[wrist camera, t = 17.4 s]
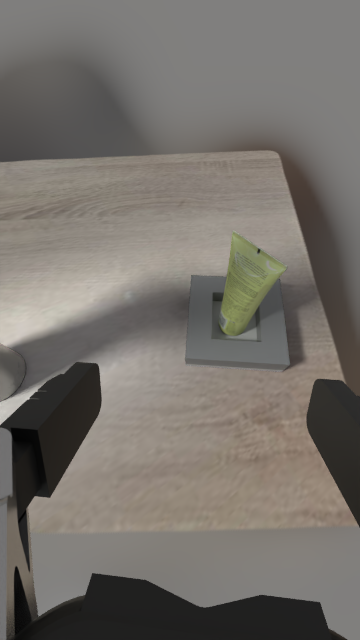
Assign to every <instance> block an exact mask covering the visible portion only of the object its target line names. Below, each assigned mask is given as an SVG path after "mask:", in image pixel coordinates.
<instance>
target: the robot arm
mask: <svg viewBox="0 0 360 640" xmlns="http://www.w3.org/2000/svg"><path fill="white" fill-rule="evenodd" d="M25 372H26V365H25V361H24V359H23V357H22V356H21V355H20V354H18V353H17V352H15V351H13V350H11V349H10V348H8V347H6V346H4V345H3V344H1V343H0V401H2V400H4V399H6V398H8V397H9V396H10V395H12V394H13V393H14V392H15V391H16V390H17V389H18V387H19V386H20V385H21V383H22V381H23V379H24V376H25ZM101 401H102V398H101V386H100V373H99V366H98V364H96V363H83V362H76V363H75V364H74V365H73V366H72V367H71V368H70V369H69V370H68V371H67V372H66V373H65V374H60V375H58V376H56V377H54V378H52V379H51V380H49V381H47V382H46V383H45V384H44V385H43V386H42V387H41V388H40V389H38V392H35V393H34V394H33V395H32V396H31V397H30V399H29V400H27V401H26V402H25V403H24V404H22V405H21V406H20V407H19V408H18V409H17V410H16V411H15V412H14V413H13V414H12V415H11V416H10V417H9V418H7V419H6V420H5V421H4V422H3V423H2V424H1V425H0V640H347V639H345V638H344V637H342V636H341V635H339V634H337V633H336V632H334V631H332V630H330V629H328V626H327V623H326V620H325V617H324V614H323V610H322V607H321V604H320V602H313V601H305V600H296V599H290V598H282V597H274V596H266V595H259V596H255V597H250V598H246V599H242V600H238V601H233V602H230V603H225V604H221V605H216V606H212V607H206V608H203V607H199V606H196V605H194V604H192V603H190V602H188V601H186V600H184V599H182V598H180V597H178V596H176V595H174V594H172V593H170V592H168V591H166V590H164V589H162V588H160V587H158V586H156V585H155V584H153V583H150V582H149V581H146V580H141V579H133V578H126V577H118V576H110V575H102V574H94V573H92V576H91V579H90V582H89V586H88V589H87V592H86V595H84V596H79V597H76V598H74V599H71V600H68V601H66V602H63V603H61V604H60V605H58V606H56V607H54V608H52V609H50V610H48V611H47V612H45V613H44V614H42V615H41V616H39V617H38V609H37V602H36V596H35V589H34V580H33V565H32V553H31V552H32V551H31V537H30V523H29V512H28V505H29V504H30V502H31V501H32V499H33V498H34V496H39V497H49V498H50V497H51V495H52V493H53V492H54V490H55V488H56V486H57V485H58V483H59V481H60V480H61V478H62V476H63V475H64V473H65V471H66V469H67V468H68V466H69V464H70V463H71V461H72V459H73V457H74V456H75V454H76V452H77V451H78V449H79V447H80V445H81V444H82V442H83V440H84V439H85V437H86V435H87V433H88V432H89V430H90V428H91V427H92V425H93V423H94V421H95V420H96V418H97V416H98V414H99V412H100V408H101ZM307 428H308V431H309V434H310V436H311V438H312V439H313V441H314V443H315V445H316V447H317V449H318V451H319V452H320V454H321V456H322V458H323V460H324V462H325V464H326V466H327V467H328V469H329V471H330V473H331V475H332V477H333V479H334V480H335V482H336V484H337V486H338V488H339V490H340V492H341V493H342V495H343V497H344V499H345V501H346V503H347V505H348V506H349V508H350V510H351V512H352V514H353V516H354V518H355V519H356V521H357V523H358V525H359V527H360V397H359V396H356V395H355V394H354V393H353V392H352V391H351V390H350V389H349V387H348V386H347V385H346V384H345V383H344V382H343V381H341V380H329V379H317V380H316V381H315V382H314V385H313V389H312V394H311V398H310V403H309V407H308V412H307Z"/></svg>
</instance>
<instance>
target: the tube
mask: <svg viewBox="0 0 360 640" xmlns="http://www.w3.org/2000/svg"><path fill="white" fill-rule="evenodd" d="M287 267H288V266H287V265H285V264H284V263H282V262H280V261H279V260H277V259H276V258H274V257H273V256H271V255H270V254H268V253H267V252H265V251H264V250H262V249H261V248H259V247H258V246H256V245H255V244H253V243H252V242H250V241H249V240H247V239H246V238H244V237H243V236H242V235H240V234H238V233H237V232H235V231H233V233H232V241H231V251H230V258H229V266H228V272H227V279H226V285H225V290H224V296H223V301H222V306H221V311H220V316H219V321H218V323H219V327H220V329H221V330H222V331H223V332H224V333H225V334H227V335H230V336H237V335H240V334H241V333H242V332H243V331H244V330H245V328H246V327H247V325H248V323H249V321H250V320H251V318H252V316H253V314H254V313H255V311H256V310H257V308H258V306H259V305H260V303H261V302H262V300H263V299H264V297H265V296H266V294H267V293H268V291H269V290H270V289H271V287H272V286H273V285H274V283H275V282H276V281H277V279H278V278H279V277H280V276H281V275H282V274H283V273H284V272H285V271H286V269H287Z"/></svg>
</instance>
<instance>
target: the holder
mask: <svg viewBox="0 0 360 640" xmlns="http://www.w3.org/2000/svg"><path fill="white" fill-rule="evenodd" d="M226 279H227V277H223V276H199V275H191V287H190V300H189V314H188V327H187V341H186V355H185V362H186V366H200V367H215V368H230V369H245V370H260V371H275V372H282V371H283V370H285V369H286V368H287V367H288V366H289V365H290V360H289V352H288V343H287V335H286V326H285V317H284V309H283V300H282V292H281V283H280V279H277V281H276V282H275V283H274V285H273V286H272V287H271V289H270V290H269V291H268V293H267V294H266V296H265V297H264V299H263V300H262V302H261V303H260V305H259V306H258V308H257V310H256V311H255V313H254V314H253V316H252V318H251V320H250V321H249V323H248V325H247V327H246V328H245V330H244V331H243V332H242V333H241V334H240V335H237V336H230V335H227V334H225V333H224V332H223V331H222V330H221V329H220V327H219V323H218V321H219V316H220V311H221V306H222V301H223V296H224V290H225V285H226Z"/></svg>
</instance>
